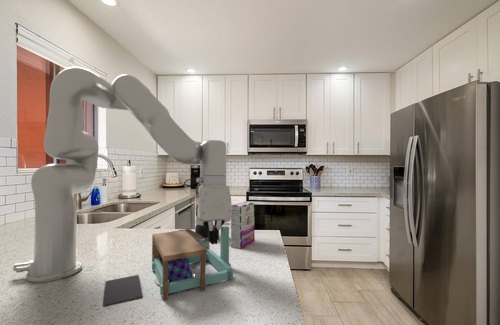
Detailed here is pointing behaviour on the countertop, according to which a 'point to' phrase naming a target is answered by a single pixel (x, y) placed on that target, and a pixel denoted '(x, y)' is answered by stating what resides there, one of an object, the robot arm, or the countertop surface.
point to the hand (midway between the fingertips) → (213, 242)
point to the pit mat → (122, 290)
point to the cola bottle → (201, 228)
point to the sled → (214, 259)
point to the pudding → (179, 270)
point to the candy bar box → (242, 225)
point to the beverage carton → (198, 238)
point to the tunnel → (177, 253)
